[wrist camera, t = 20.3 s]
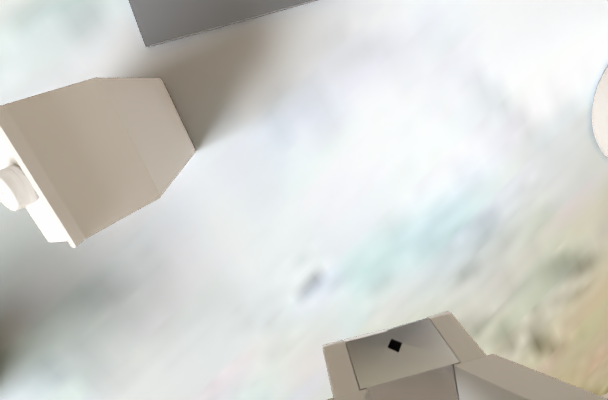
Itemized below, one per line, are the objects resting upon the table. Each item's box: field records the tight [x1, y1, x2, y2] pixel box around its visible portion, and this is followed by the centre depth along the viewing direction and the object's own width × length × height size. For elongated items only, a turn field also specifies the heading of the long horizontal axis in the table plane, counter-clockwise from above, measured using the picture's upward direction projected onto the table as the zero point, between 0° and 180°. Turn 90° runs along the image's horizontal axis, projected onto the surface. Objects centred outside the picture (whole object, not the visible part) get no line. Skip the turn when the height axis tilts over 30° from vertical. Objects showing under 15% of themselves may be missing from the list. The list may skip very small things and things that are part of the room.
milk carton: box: [0, 77, 195, 248], centre depth 27 cm, size 7×7×19 cm
